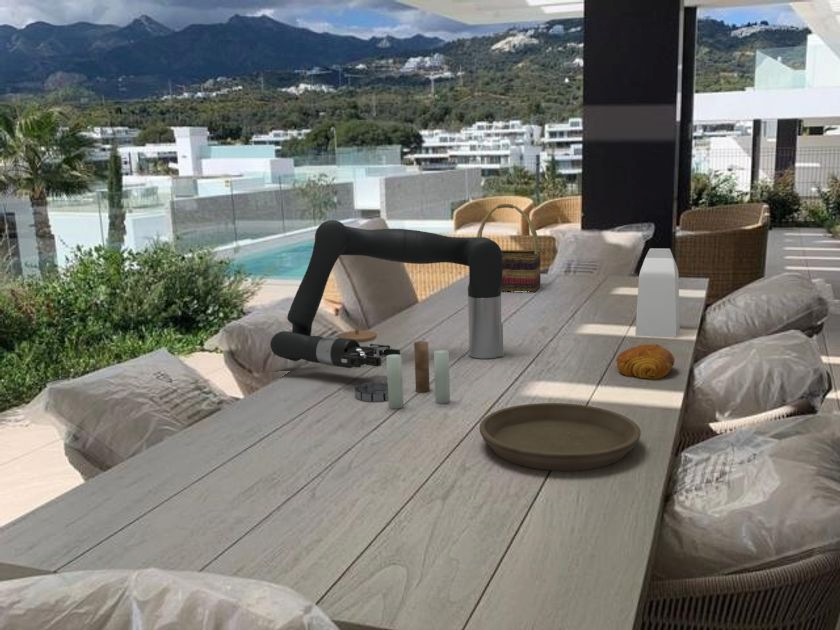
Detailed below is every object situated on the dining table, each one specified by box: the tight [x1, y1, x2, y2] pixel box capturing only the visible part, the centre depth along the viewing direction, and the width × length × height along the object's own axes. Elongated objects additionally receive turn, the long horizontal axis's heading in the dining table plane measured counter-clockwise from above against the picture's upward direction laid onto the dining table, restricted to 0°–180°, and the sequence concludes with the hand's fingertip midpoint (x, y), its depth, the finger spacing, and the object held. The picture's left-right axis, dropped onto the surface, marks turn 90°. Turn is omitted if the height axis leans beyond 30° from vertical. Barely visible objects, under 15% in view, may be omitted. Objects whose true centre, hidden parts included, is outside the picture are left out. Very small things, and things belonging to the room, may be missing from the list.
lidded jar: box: [337, 328, 377, 346], centre depth 236 cm, size 11×11×9 cm
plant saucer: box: [478, 402, 642, 472], centre depth 165 cm, size 31×31×5 cm
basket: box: [476, 203, 542, 293], centre depth 342 cm, size 26×15×35 cm, turn 72°
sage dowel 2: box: [433, 349, 451, 405], centre depth 195 cm, size 3×3×12 cm
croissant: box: [615, 344, 675, 380], centre depth 216 cm, size 14×16×8 cm
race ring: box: [354, 380, 388, 403], centre depth 204 cm, size 11×11×2 cm
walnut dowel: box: [413, 340, 431, 393], centre depth 205 cm, size 3×3×12 cm
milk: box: [634, 248, 681, 339], centre depth 257 cm, size 12×12×26 cm
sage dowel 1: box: [385, 354, 404, 410], centre depth 193 cm, size 3×3×12 cm
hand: (390, 358), depth 210 cm, fingers open, 8 cm apart
